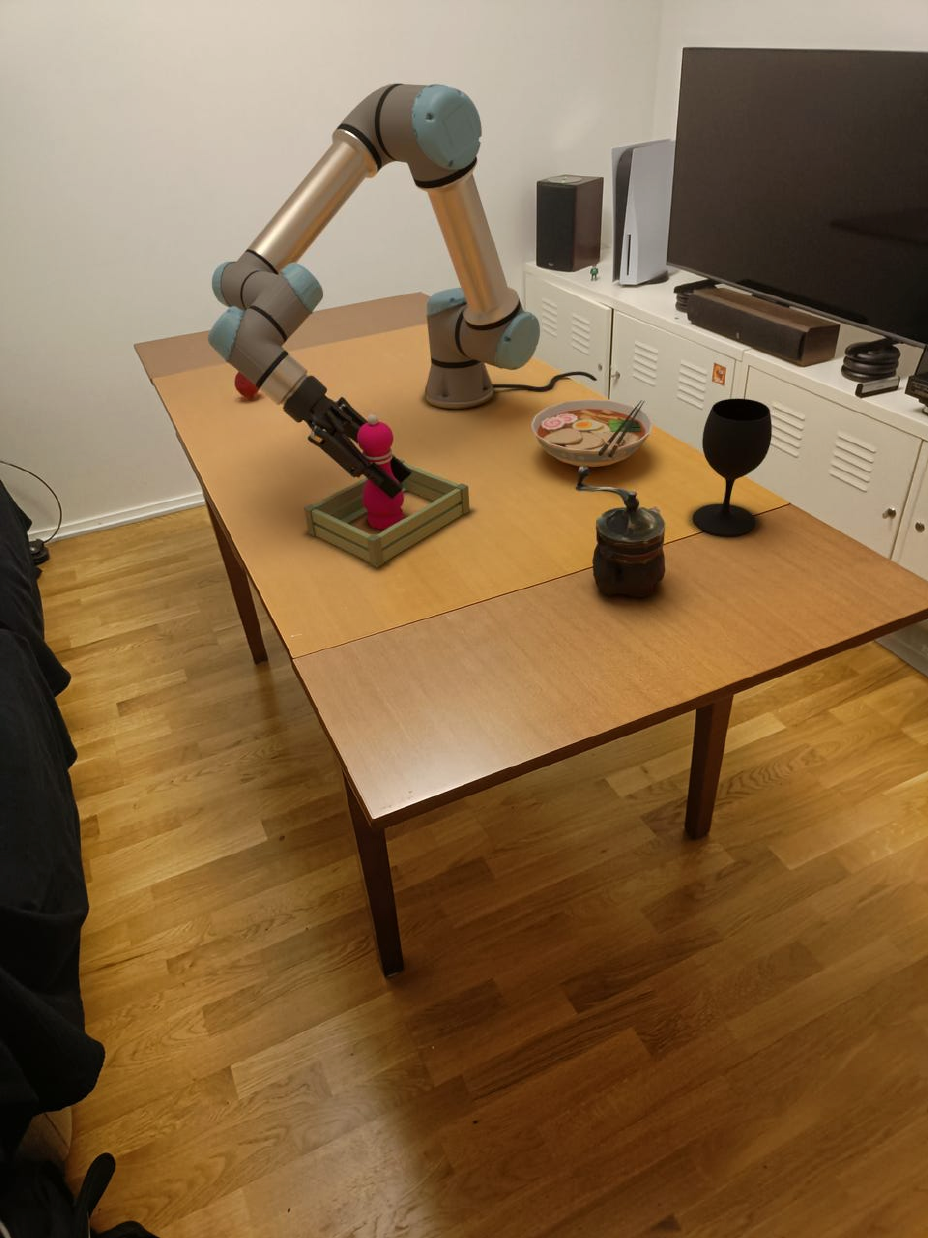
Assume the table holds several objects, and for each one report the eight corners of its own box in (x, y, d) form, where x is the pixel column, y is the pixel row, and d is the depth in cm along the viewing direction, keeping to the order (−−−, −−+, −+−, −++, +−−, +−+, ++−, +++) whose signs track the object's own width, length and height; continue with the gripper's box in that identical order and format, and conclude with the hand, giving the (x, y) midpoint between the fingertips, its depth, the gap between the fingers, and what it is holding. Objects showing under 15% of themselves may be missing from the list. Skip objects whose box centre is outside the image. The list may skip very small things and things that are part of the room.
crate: (401, 483, 160) (398, 458, 157) (469, 511, 150) (468, 485, 147) (308, 533, 147) (303, 507, 144) (377, 568, 138) (373, 541, 134)
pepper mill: (365, 512, 152) (350, 407, 140) (405, 508, 152) (393, 403, 140) (365, 533, 146) (349, 425, 134) (407, 529, 147) (394, 421, 135)
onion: (257, 403, 195) (250, 370, 190) (234, 402, 196) (226, 369, 191) (267, 393, 199) (260, 360, 194) (244, 392, 200) (236, 359, 195)
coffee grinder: (587, 553, 138) (591, 452, 127) (675, 575, 131) (687, 471, 120) (553, 594, 129) (554, 489, 118) (645, 620, 123) (655, 512, 112)
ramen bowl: (557, 424, 177) (558, 386, 172) (665, 440, 168) (669, 401, 163) (510, 477, 159) (509, 438, 154) (627, 498, 151) (630, 457, 146)
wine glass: (757, 509, 145) (777, 398, 133) (753, 540, 138) (774, 426, 126) (696, 502, 148) (710, 393, 136) (688, 532, 141) (702, 420, 129)
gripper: (302, 383, 147) (403, 473, 153) (261, 428, 133) (373, 525, 139) (326, 354, 142) (428, 448, 149) (286, 397, 129) (401, 498, 135)
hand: (402, 485), depth 144 cm, fingers closed on pepper mill, 5 cm apart
